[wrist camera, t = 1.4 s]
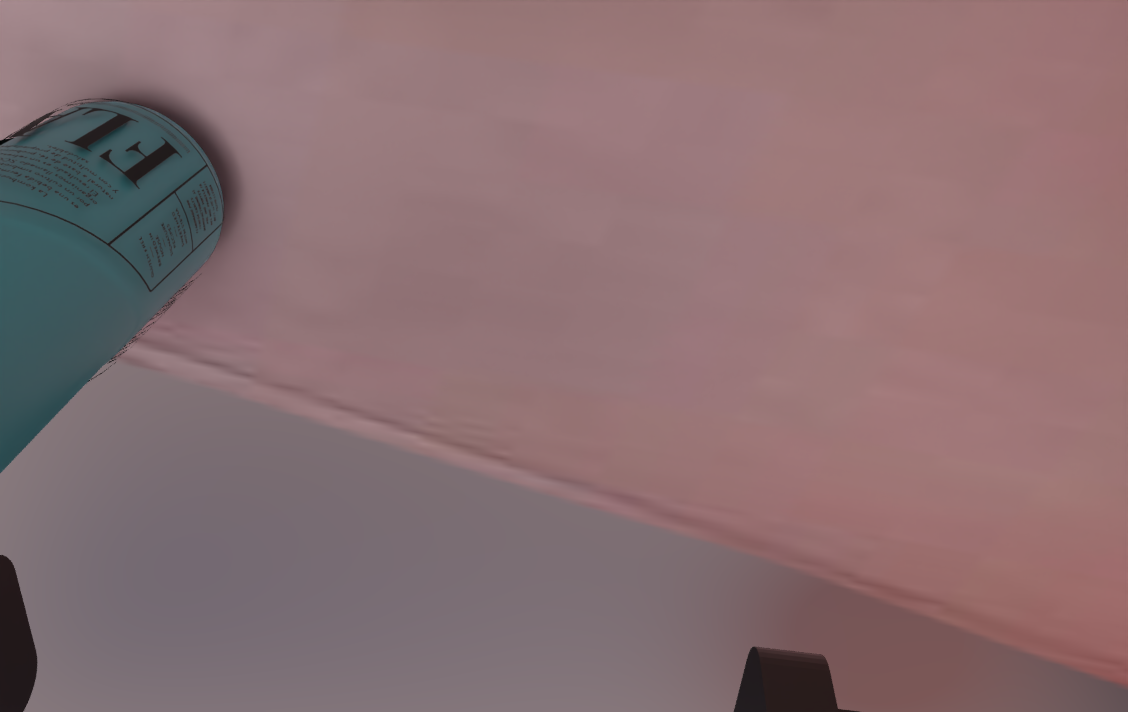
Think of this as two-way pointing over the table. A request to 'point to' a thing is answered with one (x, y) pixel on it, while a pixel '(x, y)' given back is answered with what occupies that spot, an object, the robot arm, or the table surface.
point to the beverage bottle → (91, 248)
